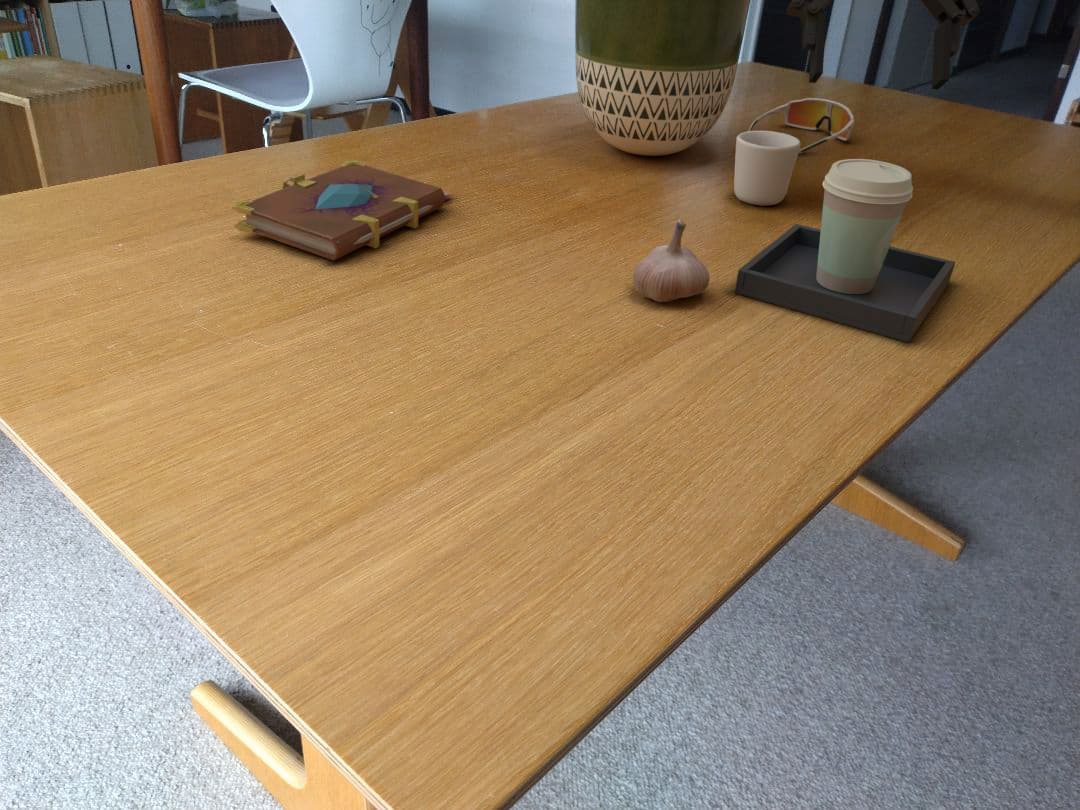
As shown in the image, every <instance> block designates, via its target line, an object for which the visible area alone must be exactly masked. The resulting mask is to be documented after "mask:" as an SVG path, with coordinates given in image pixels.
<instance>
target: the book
mask: <svg viewBox="0 0 1080 810" xmlns="http://www.w3.org/2000/svg"><path fill="white" fill-rule="evenodd" d="M339 165H340V166H339V167H336V168H334V169H330V170H328V171H326V172H324V173H321V174H317V175H316V176H313V177H309V178H307V179H306V175H305V173H302V174H299V175H296V176H293V177H290V178H288V179H286V180H281V184H280V185H281V186H280V189H279V190H276V191H274V192H271V193H268V194H266V195H262V196H260V197H258V198H255V199H252V200H250V199H248V200H242V201H238V202H236V203H235V204H234V205H232V206H231V209H232V210H233V211H234V212H236V213H238V214H243V215H245V218H246V219H241V220H239V221H237V222H236V223H235V224H234V225H233V227H234V228H235V229H236V230H238V231H239V232H243V233H249V234H258V235H260V236H263V237H265V238H268V239H271V240H275V241H278V242H280V243H283V244H286V245H289V246H292V247H294V248H297V249H300V250H303V251H305V252H309V253H311V254H314V255H316V256H320V257H322V258H326V259H329V260H331V261H336V260H338V259H340V258H342V257H344V256H346V255H348V254H350V253H352V252H354V251H356V250H359V249H360V248H363V247H365V246H368V247H371V248H373V249H376V248H378V247H380V239H381V238H382V237H384V236H386V235H388V234H391V233H392V232H395V231H397V230H398V229H400V228H402V227H405V226H406V227H409V228H411V229H417V228H418V227H419V219H421V218H423V217H424V216H426V215H429V214H431V213H432V212H435V211H437V210H438V209H441V208H442V207H443V205H444V204H445V202H446V200H447V199H448V198H451V197H452V196H453V195H452V194H445V193H444V191H443V189H442V188H441V187H440V186H436V185H433V184H429V183H425V182H423V181H419V180H416V179H412V178H409V177H406V176H402V175H400V174H395V173H392V172H388V171H385V170H383V169H379V168H376V167H372V166H369V165H368V164H367V163H364V162H363V161H360V159H359V160H358V159H357V160H354V159H353V160H349V159H348V160H346V161H344V162H343V163H341V164H339ZM288 182H292V185H291V184H289V183H288Z"/></svg>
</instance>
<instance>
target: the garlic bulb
mask: <svg viewBox="0 0 1080 810" xmlns="http://www.w3.org/2000/svg"><path fill="white" fill-rule="evenodd" d="M686 226H687V224H686V222H685V221H683V220H681V219H678V220H677V222H676V223H675V228H674V232H673V234H672V236H671V239H670V241H669V243H668V244H661V245H659V246H656V247H655V248H653V249H652V250H651V251H650V252H649V253H648V254H647V255H646V256H645V257H644V258H642V259H640V261H638V263H637V264H636V266H635V268H634V270H633V274H632V283H633V287H634V289H635V291H636V292H637V293H638V294H639V295H640V296H642V297H644V298H647V299H652V300H653V301H655V302H658V303H665V302H666V303H667V302H668V303H669V302H673V301H674V300H678V299H681V298H682V299H685V298H689V297H692V296H698V295H700V294H702V293H703V292H704V291H705V290H706V289H707V288H708V286H709V283H710V273H709V270H708V268H707V267H706V265H705V264H704V263H703V262H701V261H700V260H699V259H698V258H697V256H696V255H695V253H694V252H693V251H692V250H691V249H690V248H687V247H684V246H683V245H682V237H683V234H684V231H685V229H686Z"/></svg>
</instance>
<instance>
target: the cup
mask: <svg viewBox="0 0 1080 810" xmlns="http://www.w3.org/2000/svg"><path fill="white" fill-rule="evenodd" d="M801 144H802V143H801V141H800V139H799V138H797V137H795V136H793V135H791V134H788V133H783V132H779V131H773V130H772V131H771V130H751V131H749V130H748V131H743V132H741V133H739V134H738V135H737V136H736V140H735V158H734V159H735V160H734V177H733V178H734V179H733V190H734V195H735V197H736V198H737V199H738V200H740V201H741V202H744V203H745V204H746V203H747V204H748V205H749V204H750V205H753V206H761V207H762V206H766V207H767V206H774V205H777V204H780V203H781V202H782V201H783V200H784V199H785V197H786V195H787V193H788V189H789V186H790V183H791V180H792V176H793V172H794V170H795V166H796V163H797V159H798V157H799V150H801Z"/></svg>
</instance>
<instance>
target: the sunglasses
mask: <svg viewBox="0 0 1080 810" xmlns="http://www.w3.org/2000/svg"><path fill="white" fill-rule="evenodd" d="M782 112H784V124H785V125H786V126H790V127H793V128H798V129H804V130H810V131H816V130H818V129H819V128H820V127H821V126H822V124H824V122H825V121H826V120H827V131H828V132H829V134H830V136H826V137H824V138H822V139H820V140H818V141H815V142H814V143H812V144H811V143H810V144H809V145H807V146H805V147H803V148H800V149H799V153H798V155H799V154H803V153H805V152H808V151H810V150H812V149H814V148H817V147H818V146H821V145H823V144H825V143H828V142H831V141H832V142H833V140H835V139H839V140H840V141H841V140H842V141H843V142H847V141H849V138H850V137H851V135H852V131H853V128H854V125H855V118H854V117H855V116H854V115H853V113H852V111H851V110H850V108H849V107H847V106H846V105H844V104H842V103H840V102H839V101H836V100H835V101H834V100H830V99H826V98H817V97H805V98H803V99H796V100H795V99H794V100H790V101H789V102H787V103H786V104H783V105H780V106H777V107H775V108H773V109H770V110H768V111H767V112H765V113H763V114H761V115H760V116H758V117H757V118H755V119H754V120H753V122H752V123H751V124H750V126H749V128H748V131H753V129H754V126H756V124H757V123H759V122H761V121H762V120H763V119H765V118H766V117H768V116H770V115H773V114H780V113H782Z"/></svg>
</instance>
